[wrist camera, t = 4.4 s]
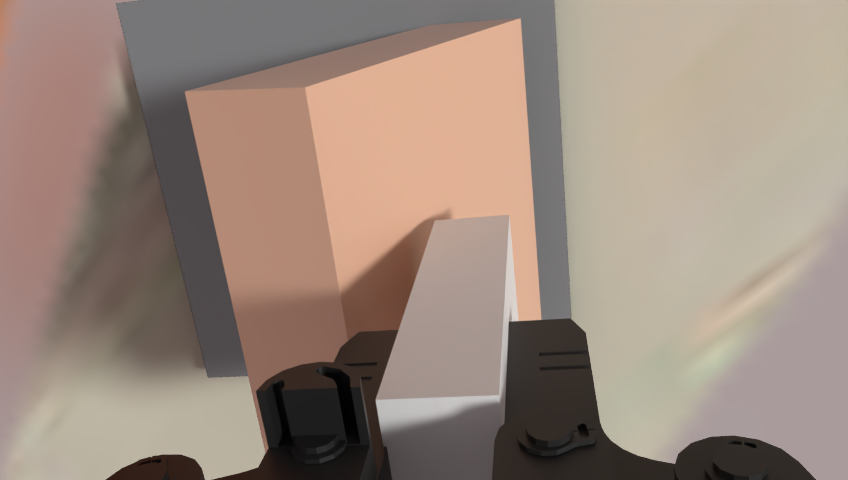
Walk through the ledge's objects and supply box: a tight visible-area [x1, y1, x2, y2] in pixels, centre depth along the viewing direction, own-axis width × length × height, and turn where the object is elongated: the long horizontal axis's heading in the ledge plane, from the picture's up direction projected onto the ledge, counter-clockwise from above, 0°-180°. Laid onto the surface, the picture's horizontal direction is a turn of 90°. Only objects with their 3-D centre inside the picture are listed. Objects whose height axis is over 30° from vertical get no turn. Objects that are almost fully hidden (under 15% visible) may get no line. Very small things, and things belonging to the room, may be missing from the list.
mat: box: [116, 0, 571, 378], centre depth 22 cm, size 12×12×1 cm
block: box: [185, 18, 541, 452], centre depth 18 cm, size 3×9×9 cm, turn 8°
